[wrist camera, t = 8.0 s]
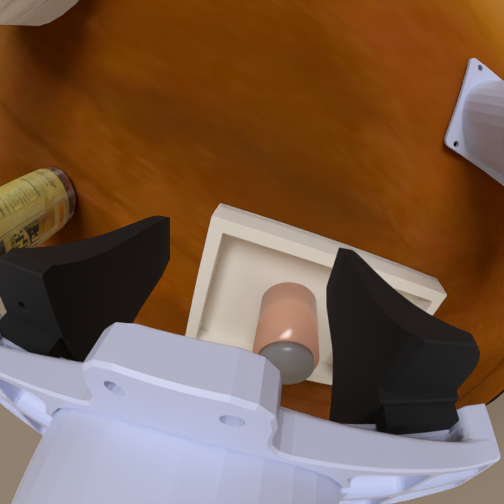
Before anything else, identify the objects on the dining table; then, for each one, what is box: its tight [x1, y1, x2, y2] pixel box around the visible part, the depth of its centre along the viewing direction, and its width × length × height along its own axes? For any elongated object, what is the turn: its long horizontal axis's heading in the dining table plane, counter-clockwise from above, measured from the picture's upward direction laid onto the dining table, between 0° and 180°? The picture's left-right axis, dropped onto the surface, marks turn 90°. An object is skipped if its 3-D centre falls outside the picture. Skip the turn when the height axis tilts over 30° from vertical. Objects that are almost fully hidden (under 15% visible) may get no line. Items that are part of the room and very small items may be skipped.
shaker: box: [252, 282, 320, 384], centre depth 22 cm, size 5×5×7 cm
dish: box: [185, 203, 447, 385], centre depth 25 cm, size 20×14×2 cm
